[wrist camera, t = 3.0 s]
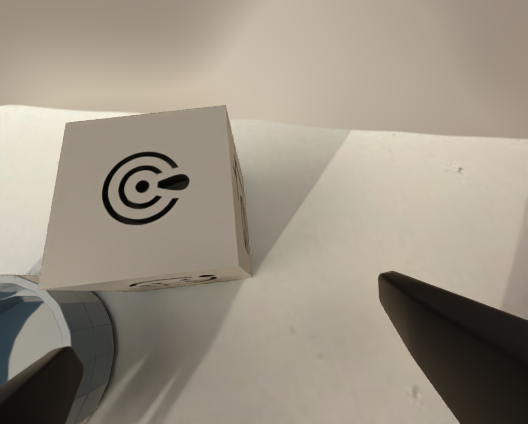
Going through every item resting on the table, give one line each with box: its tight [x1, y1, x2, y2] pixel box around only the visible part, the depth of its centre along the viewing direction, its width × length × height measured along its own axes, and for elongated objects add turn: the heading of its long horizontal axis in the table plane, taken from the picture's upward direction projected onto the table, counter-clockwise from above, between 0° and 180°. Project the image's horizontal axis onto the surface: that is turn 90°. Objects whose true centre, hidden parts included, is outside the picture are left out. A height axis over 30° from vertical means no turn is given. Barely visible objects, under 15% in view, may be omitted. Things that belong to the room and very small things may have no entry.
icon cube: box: [37, 105, 252, 291], centre depth 18 cm, size 10×10×10 cm
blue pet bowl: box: [0, 275, 114, 424], centre depth 18 cm, size 13×13×5 cm
